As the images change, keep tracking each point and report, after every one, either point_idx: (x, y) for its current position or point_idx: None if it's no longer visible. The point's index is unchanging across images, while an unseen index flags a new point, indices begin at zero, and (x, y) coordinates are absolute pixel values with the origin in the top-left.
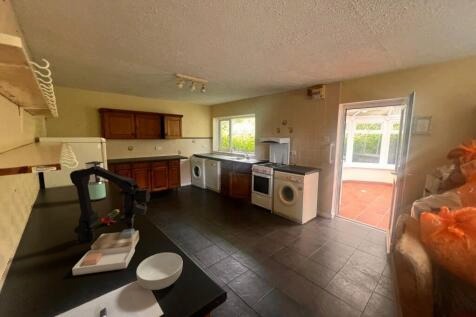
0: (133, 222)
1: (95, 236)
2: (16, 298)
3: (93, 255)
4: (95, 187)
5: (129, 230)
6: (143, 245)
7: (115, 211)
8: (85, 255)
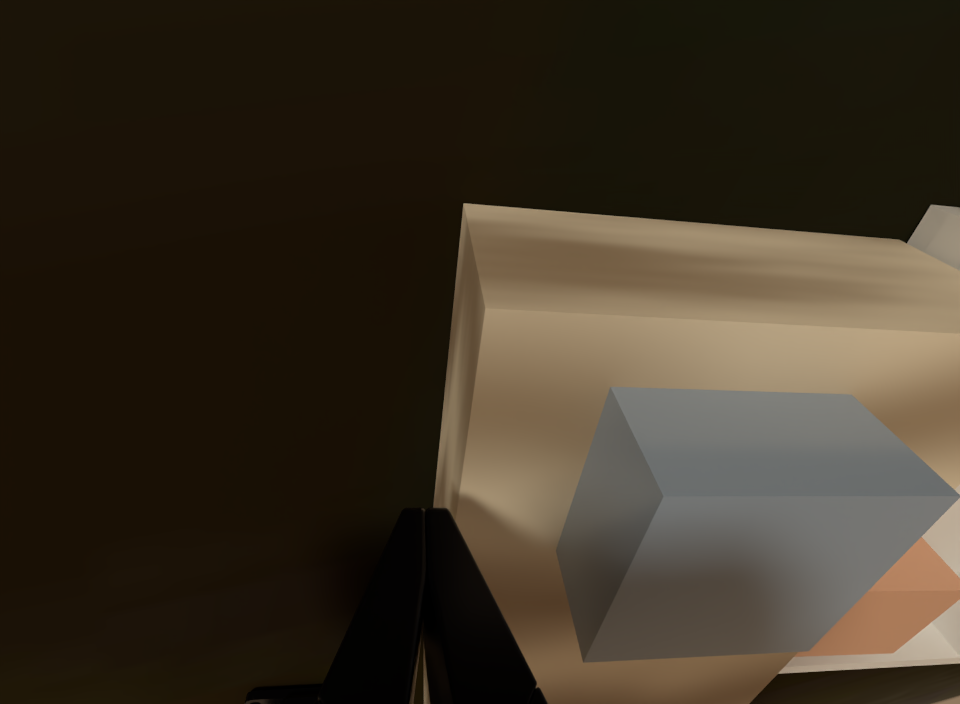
0: (332, 681)
1: (253, 694)
2: (913, 697)
3: (860, 626)
4: None
5: (733, 564)
6: (829, 51)
7: None
8: (793, 667)
